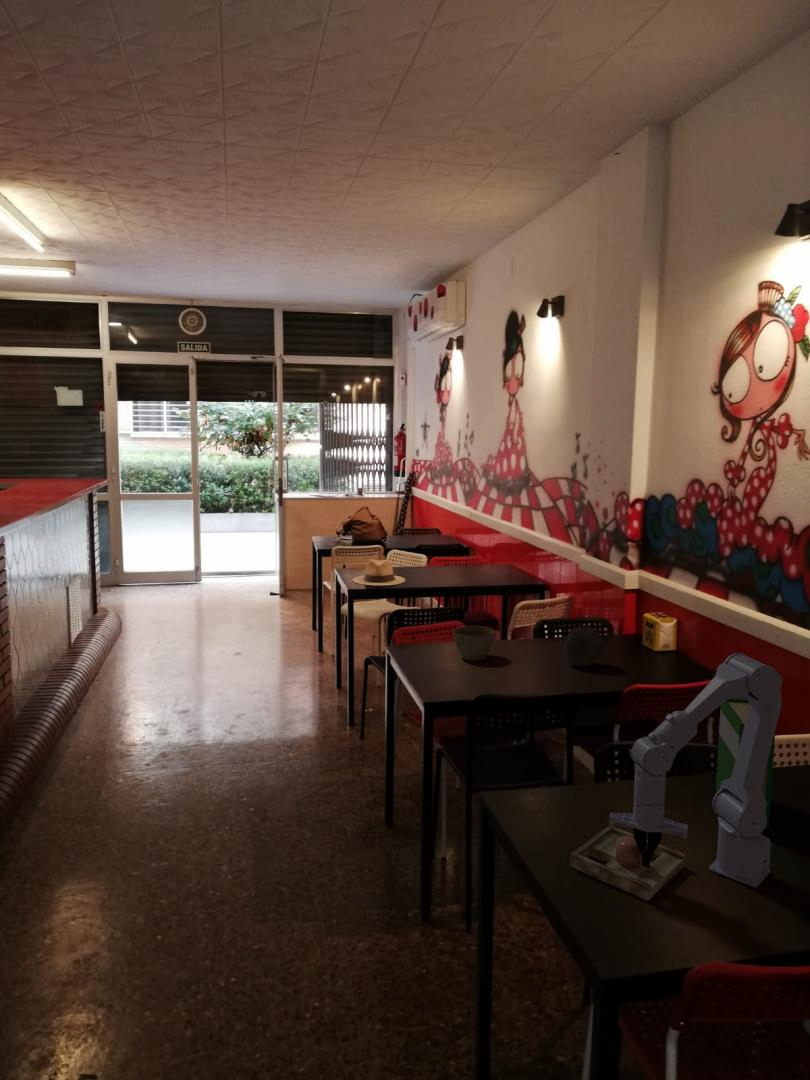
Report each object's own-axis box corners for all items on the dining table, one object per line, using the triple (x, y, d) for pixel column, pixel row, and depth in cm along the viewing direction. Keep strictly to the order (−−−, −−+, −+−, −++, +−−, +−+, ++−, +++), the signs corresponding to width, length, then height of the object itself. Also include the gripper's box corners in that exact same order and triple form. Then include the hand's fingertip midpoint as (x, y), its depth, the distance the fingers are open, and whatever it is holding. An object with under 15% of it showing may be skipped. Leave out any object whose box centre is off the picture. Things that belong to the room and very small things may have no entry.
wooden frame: (684, 866, 158) (685, 854, 158) (647, 901, 147) (648, 887, 146) (609, 837, 170) (609, 825, 170) (570, 866, 158) (570, 853, 158)
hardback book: (768, 828, 173) (775, 726, 170) (733, 826, 175) (740, 724, 171) (747, 792, 191) (753, 699, 187) (715, 790, 192) (721, 697, 188)
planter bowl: (450, 652, 312) (450, 626, 310) (489, 651, 313) (489, 625, 312) (457, 664, 296) (457, 637, 294) (498, 663, 298) (498, 635, 296)
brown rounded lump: (646, 862, 156) (647, 843, 156) (630, 870, 153) (631, 851, 153) (626, 851, 160) (627, 833, 160) (610, 859, 157) (611, 841, 157)
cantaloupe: (574, 673, 285) (575, 633, 283) (558, 662, 299) (558, 624, 297) (609, 670, 288) (610, 630, 286) (591, 659, 302) (592, 621, 300)
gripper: (688, 796, 152) (685, 860, 154) (612, 785, 157) (610, 847, 159) (688, 812, 146) (685, 879, 148) (609, 800, 151) (607, 865, 153)
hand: (646, 864), depth 153 cm, fingers closed
